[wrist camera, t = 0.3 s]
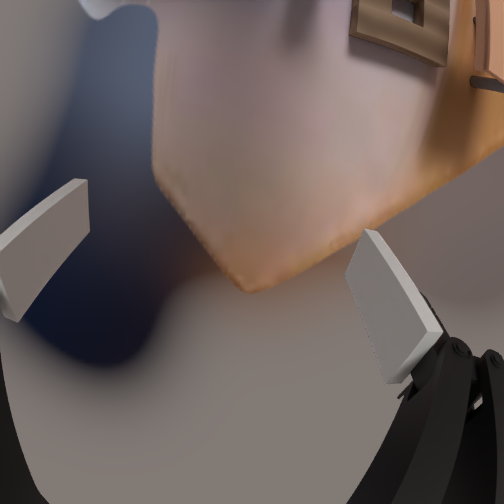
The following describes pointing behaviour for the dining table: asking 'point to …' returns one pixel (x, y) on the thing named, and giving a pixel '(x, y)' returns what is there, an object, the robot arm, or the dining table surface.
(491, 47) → the awning
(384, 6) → the socket block
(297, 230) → the dining table surface
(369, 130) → the dining table surface
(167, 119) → the dining table surface
